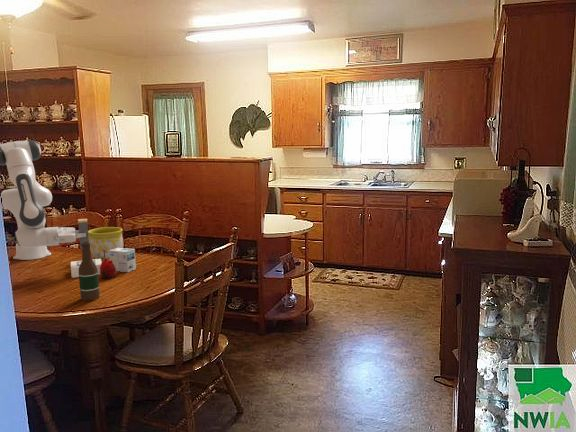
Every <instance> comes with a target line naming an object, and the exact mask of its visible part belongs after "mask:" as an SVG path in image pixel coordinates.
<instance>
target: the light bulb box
mask: <svg viewBox="0 0 576 432" xmlns="http://www.w3.org/2000/svg"><path fill="white" fill-rule="evenodd" d="M110 260H112V261H113V264H114V265H115V268H116V272H119V271H120V272H121V273H130V272H132V270H133V271H135V270H136V269H137V263H136V262H137V261H136V249H135V248H127V247H126V248H124V247H123V248H116V249H112V250H110Z"/></svg>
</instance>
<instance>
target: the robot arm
mask: <svg viewBox="0 0 576 432" xmlns="http://www.w3.org/2000/svg"><path fill="white" fill-rule="evenodd" d="M41 155H42V149H41V146H40V144H39V143H38V142H37V141H36V140H32V139H31V140H30V139H28V140H16V141H15V140H14V141H9V142H5V143H0V166H5V165H6V168H7V172H8V173H7V174H8V176H9V180H10V182H11V183H12V184H13V185H14V186H15V187H16V188H9V189H5V190H2V192H1V193H0V194H1V198H2V204H3V206H2V207H4V208H5V209H7V210H8V211H9V212H11V213H12V214H13V216H14V218H15V221H16V224H17V225H16V226H17V230H15V232H14V236H15V237H14V238H15V241H16V244H15V250H16V251H15V252H16V254H15V255H14V256H12V257H13V259H14V260H22V261H25V260H26V261H29V260H37V259H42V258H46V257H48V256H49V257H50V256H51V255H52V253H51V251H50V250H48V247H50V246H52V247H53V246H60V244H67V243H68V244H69V243H75V242H76V241H77V239H80V237H86V233H79V229H78V230H76V228H75V227H71V226H70V227H67V226H66V227H59V226H52V227H50V226H49V227H45V226H46V222H47V221H46V215H45V211H44V208H43V207H47V206H50V205H51V203H52V202H53V195H52V192H51V191H50V189H49V188H47V187H44V186H42V185H41V184H40V183H39V182H38V181H37V180H36V170H35V167H34V163H33V162H34V161H37V160H39V159H40V158H41ZM2 204H1V205H2Z"/></svg>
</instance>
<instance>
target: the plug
mask: <svg viewBox="0 0 576 432" xmlns="http://www.w3.org/2000/svg"><path fill="white" fill-rule="evenodd" d="M88 222H89V221H88V218H79V219H77V224H78V231H79V233H86V237H80V238H79V246H80V250H82V246H81V243H83V242H89V234H88V231H89V226H88Z"/></svg>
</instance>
